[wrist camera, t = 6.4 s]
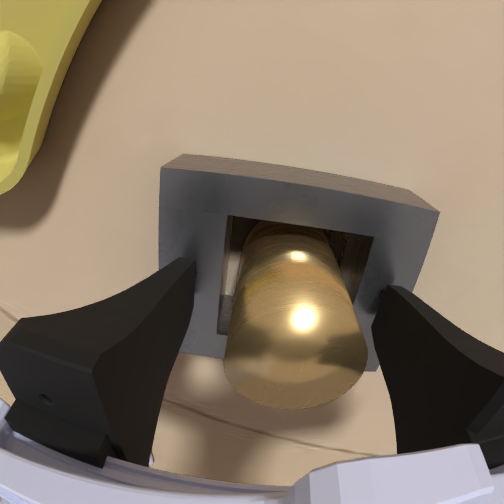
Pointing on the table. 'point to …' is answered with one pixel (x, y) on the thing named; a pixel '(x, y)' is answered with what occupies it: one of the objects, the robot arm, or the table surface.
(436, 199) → the table surface
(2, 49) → the plastic component
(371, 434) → the table surface
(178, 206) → the frame
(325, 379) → the gold metal cylinder
